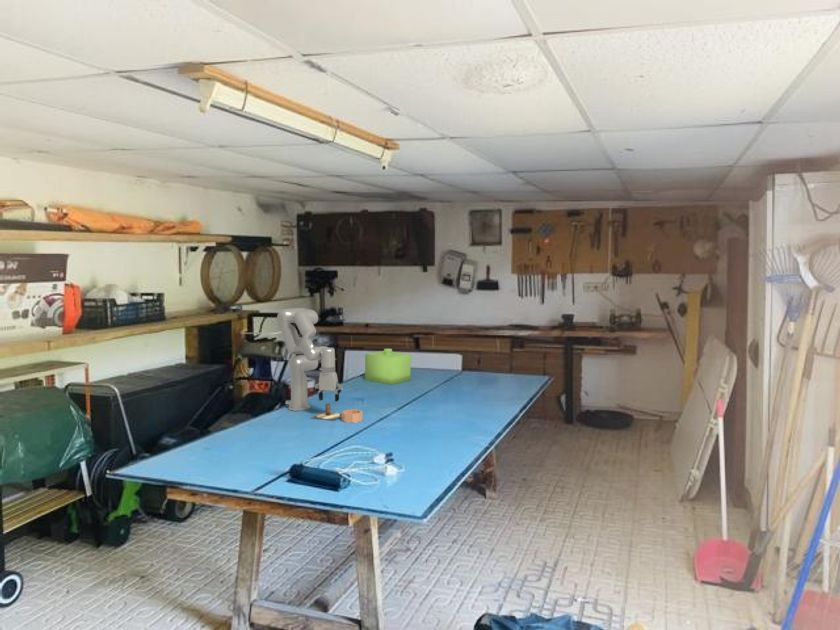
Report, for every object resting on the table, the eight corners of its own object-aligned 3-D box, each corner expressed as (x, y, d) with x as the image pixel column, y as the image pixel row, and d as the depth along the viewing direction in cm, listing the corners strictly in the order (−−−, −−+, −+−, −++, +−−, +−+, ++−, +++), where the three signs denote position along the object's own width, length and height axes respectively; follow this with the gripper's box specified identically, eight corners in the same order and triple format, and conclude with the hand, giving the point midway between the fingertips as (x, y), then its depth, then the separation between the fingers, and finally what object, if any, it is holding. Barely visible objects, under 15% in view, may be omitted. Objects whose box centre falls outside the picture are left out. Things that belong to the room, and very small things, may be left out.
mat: (309, 419, 362) (309, 418, 362) (321, 413, 376) (321, 412, 376) (334, 422, 357) (334, 421, 357) (345, 415, 371) (345, 414, 371)
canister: (410, 380, 476) (410, 349, 474) (391, 384, 459) (391, 352, 457) (384, 376, 492) (384, 345, 489) (365, 380, 475) (365, 348, 473)
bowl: (339, 422, 356) (339, 413, 356) (347, 418, 366) (346, 409, 366) (357, 424, 353) (357, 414, 353) (364, 419, 363) (364, 410, 363)
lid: (312, 418, 362) (312, 405, 361) (322, 412, 374) (322, 400, 374) (333, 420, 358) (333, 407, 358) (343, 414, 371) (343, 402, 370)
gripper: (311, 370, 363) (311, 401, 364) (339, 371, 357) (340, 402, 359) (317, 368, 370) (318, 398, 371) (345, 369, 365) (346, 400, 366)
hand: (328, 400), depth 365 cm, fingers open, 9 cm apart
